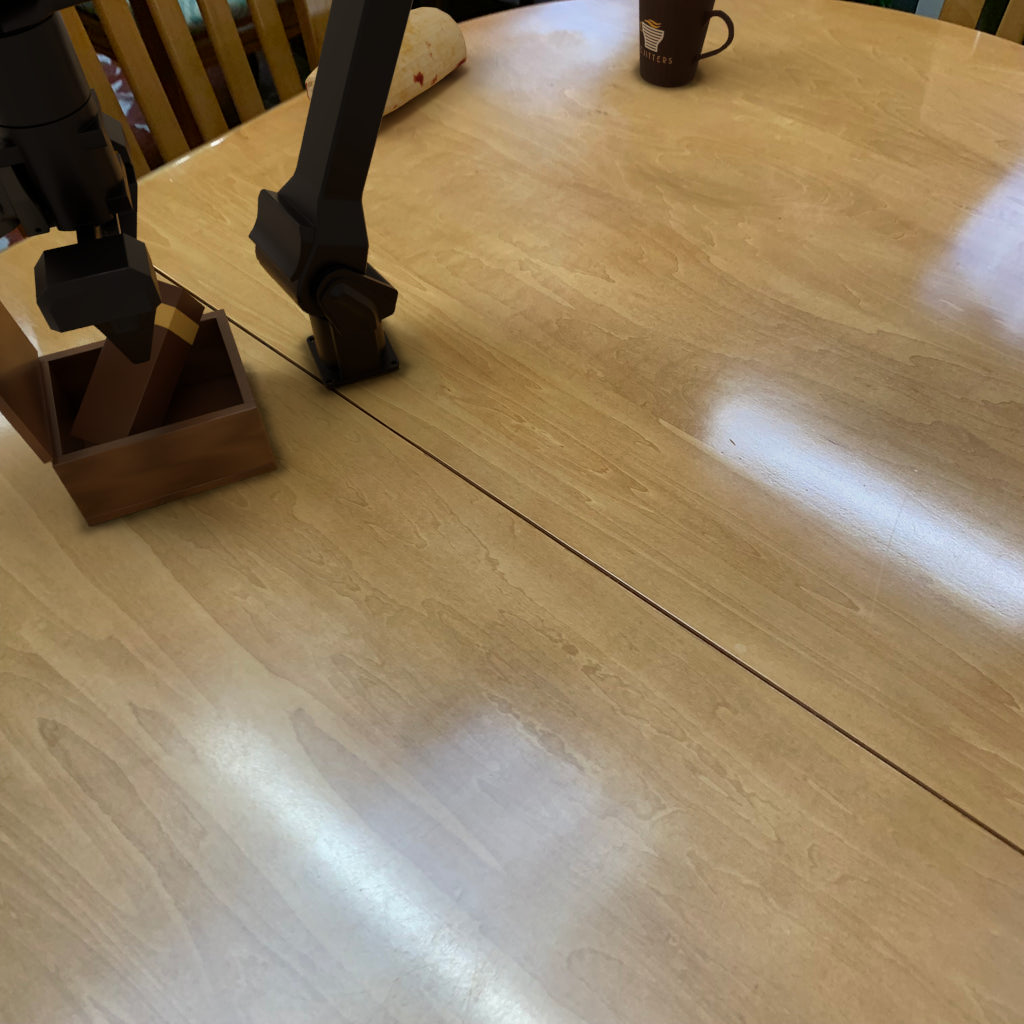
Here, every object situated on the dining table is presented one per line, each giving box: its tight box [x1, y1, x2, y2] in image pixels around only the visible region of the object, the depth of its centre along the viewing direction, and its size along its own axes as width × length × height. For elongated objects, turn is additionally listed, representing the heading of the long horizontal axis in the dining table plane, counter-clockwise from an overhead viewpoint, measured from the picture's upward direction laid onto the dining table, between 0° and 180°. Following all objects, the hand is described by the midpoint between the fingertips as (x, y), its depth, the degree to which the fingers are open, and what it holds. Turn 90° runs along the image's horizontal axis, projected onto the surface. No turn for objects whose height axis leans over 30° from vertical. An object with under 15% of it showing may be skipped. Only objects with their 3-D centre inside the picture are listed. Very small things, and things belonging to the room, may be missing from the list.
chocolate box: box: [70, 279, 206, 445], centre depth 68 cm, size 4×5×12 cm
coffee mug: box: [638, 0, 735, 88], centre depth 102 cm, size 12×9×10 cm
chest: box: [38, 308, 278, 527], centre depth 70 cm, size 14×12×7 cm
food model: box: [304, 6, 468, 117], centre depth 102 cm, size 10×7×20 cm
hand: (134, 320), depth 63 cm, fingers open, 8 cm apart
